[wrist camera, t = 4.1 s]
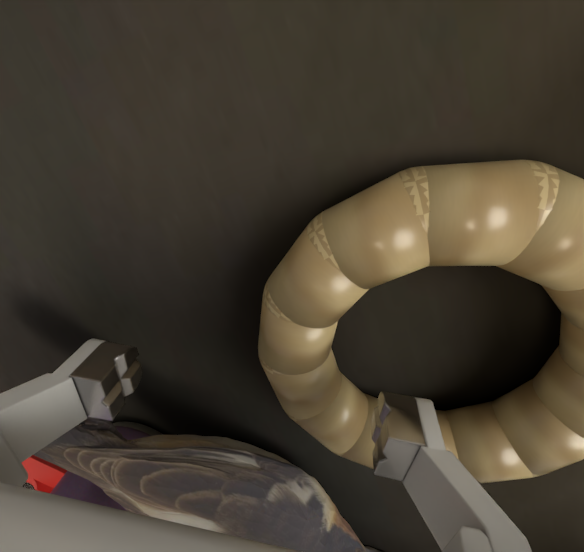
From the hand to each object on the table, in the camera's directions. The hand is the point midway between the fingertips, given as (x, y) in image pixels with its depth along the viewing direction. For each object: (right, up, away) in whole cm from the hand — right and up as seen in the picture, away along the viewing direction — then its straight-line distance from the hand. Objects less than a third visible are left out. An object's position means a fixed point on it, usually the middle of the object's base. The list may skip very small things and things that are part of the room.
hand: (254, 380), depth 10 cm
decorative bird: (-3, -5, +8) cm, 10 cm away
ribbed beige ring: (+7, +1, +1) cm, 7 cm away
